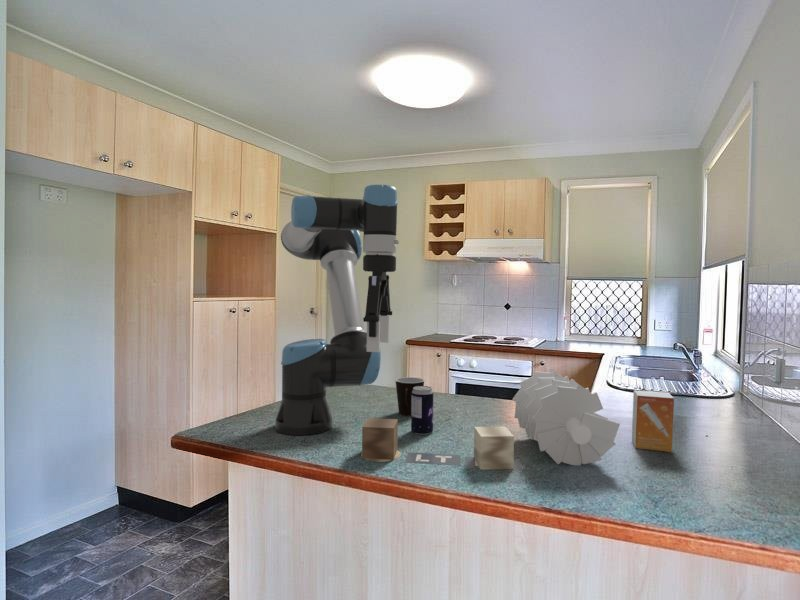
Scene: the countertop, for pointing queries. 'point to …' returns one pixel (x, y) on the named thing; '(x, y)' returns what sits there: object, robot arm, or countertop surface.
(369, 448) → the walnut block
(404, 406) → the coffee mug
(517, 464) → the code tile
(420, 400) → the beverage can
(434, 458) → the tile
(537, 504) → the countertop surface
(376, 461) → the cork coaster
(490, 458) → the birch block
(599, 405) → the spiral staircase
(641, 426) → the small box
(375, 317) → the robot arm
